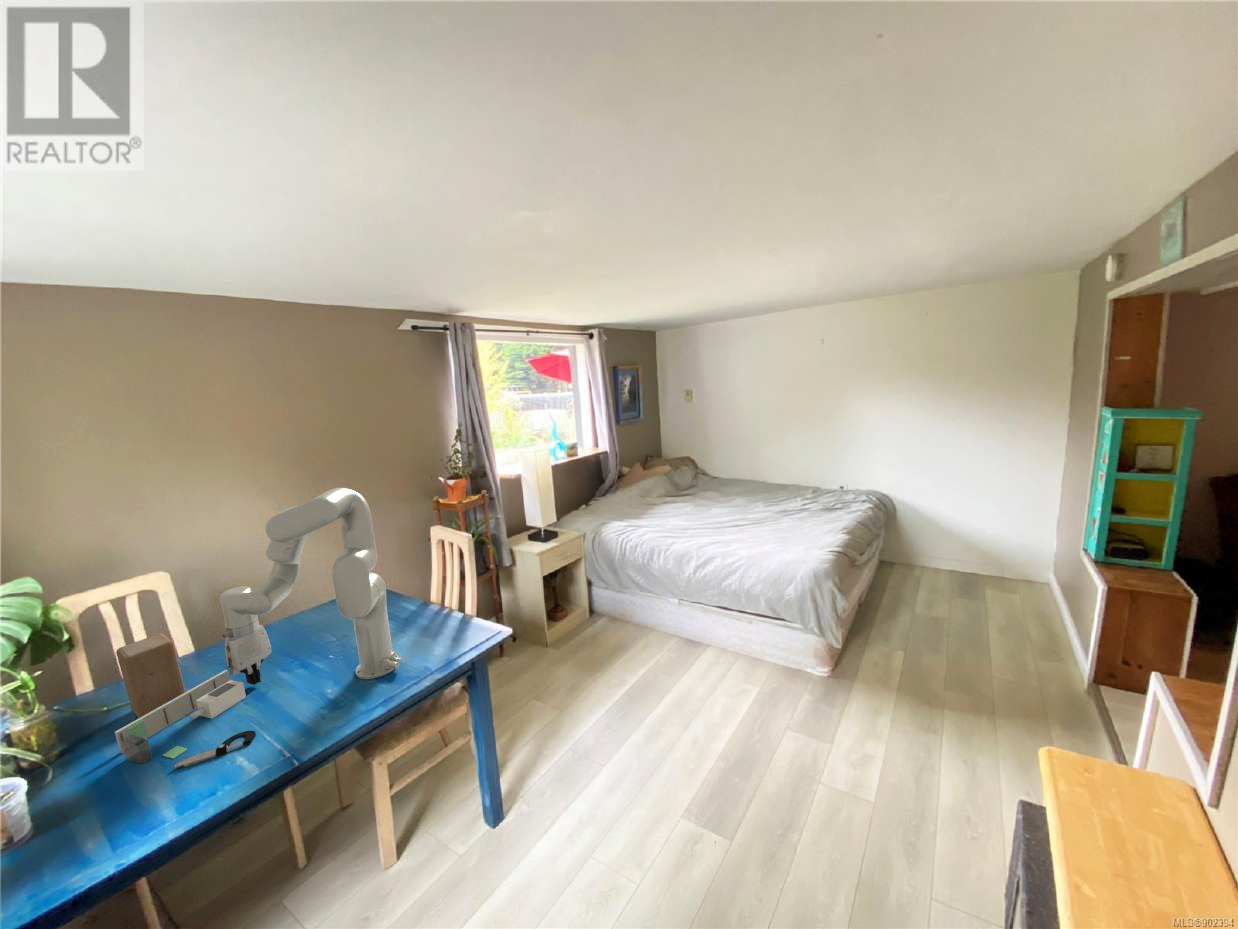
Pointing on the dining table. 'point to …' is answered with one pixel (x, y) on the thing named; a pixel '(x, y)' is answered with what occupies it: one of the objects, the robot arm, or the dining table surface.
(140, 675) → the wooden block
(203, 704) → the white slotted box
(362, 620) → the robot arm
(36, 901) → the dining table surface
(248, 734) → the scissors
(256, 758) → the dining table surface
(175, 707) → the scale board
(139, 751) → the grey faceted block
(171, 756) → the green flat block
